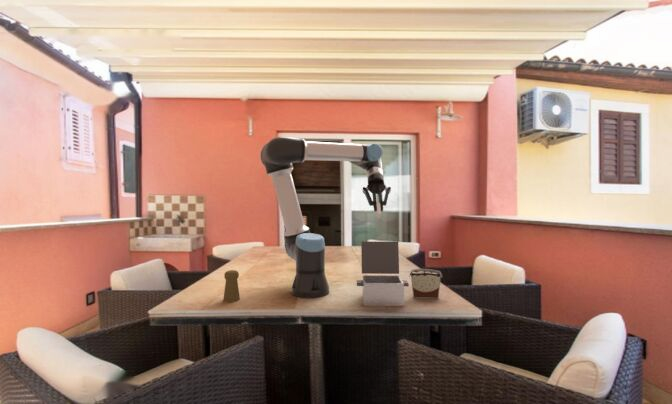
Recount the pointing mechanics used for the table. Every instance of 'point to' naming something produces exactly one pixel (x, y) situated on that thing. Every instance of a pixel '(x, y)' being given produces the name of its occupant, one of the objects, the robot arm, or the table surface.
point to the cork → (231, 286)
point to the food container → (425, 283)
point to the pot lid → (380, 257)
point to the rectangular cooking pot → (382, 290)
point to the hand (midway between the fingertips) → (379, 216)
